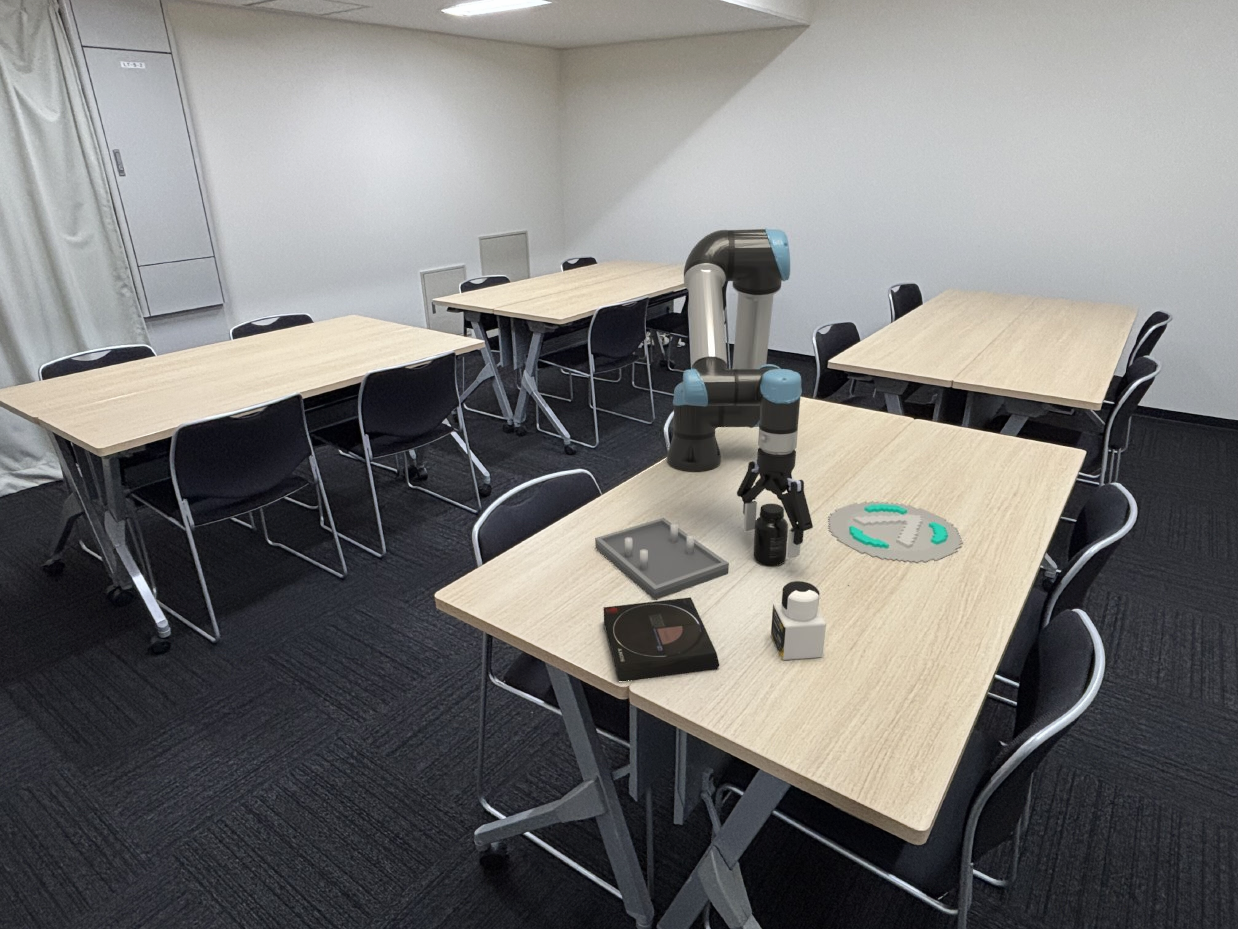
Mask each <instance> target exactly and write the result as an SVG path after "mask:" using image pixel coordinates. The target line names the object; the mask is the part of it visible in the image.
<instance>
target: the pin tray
mask: <svg viewBox="0 0 1238 929" xmlns="http://www.w3.org/2000/svg"><path fill="white" fill-rule="evenodd" d="M594 543H595V545H594V546H595V549H596V550H597V551H598V552H599V553H601V554H602V556H604V557H605V558H606V559H608V561H610V562H611V563H612V564H613V565H614V566H615V567H617V569H619V570H620V571H621V572H622V573H624V574H625V576H627V577H628V578H629V579H630V580H631V581H632V582H633V583H635V584H636V585H637V586H638V587H639V588H640V589H641V590H643V592H645V593H646V594H647V595H649V596H650V597H651V598H652V599H653V601H654V600H655V601H658V600H660V599H662V598H664V597H668V596H670V595H673V594H677V593H679V592H681V591H685V590H687V589H690V588H693V587H695V586H697V585H701V584H704V583H707V582H709V581H713V580H715V579H717V578H720V577H723V576H726V575H728V574H729V568H730V564H729V562H728V561H727V560H725V559H724V558H722V557H721V556H720V555H718V554H716V553H715V552H714V551H713V550H711V549H709V548H708V547H706V546H705V545H703V543H701V542H699V541H698V540H697V539H696V538H695V535H694V534H692V533H691V534H690V533H689V534H688V533H686V532H685V531H684V530H682V529H680V528H679V525H678V523H675V522H673V523H672V522H670V521H669V520H668V519H666V518H664V517H661V518H657V519H654V520H651V521H650V520H649V521H648V522H645V523H641V524H637V525H634V526H631V527H627V528H624V529H621V530H618V531H617V530H616V531H614V532H611V533H607V534H604V535H601V536H598V537H595V538H594Z"/></svg>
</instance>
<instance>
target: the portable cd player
mask: <svg viewBox="0 0 1238 929" xmlns="http://www.w3.org/2000/svg"><path fill="white" fill-rule="evenodd" d="M602 609H603V625H604V629H605V633H606V638H607V641H608V645H609V650H610V653H611V657H612V660H613V661H612V662H613V666H614V669H615V672H616V676H617V677H616V678H617V681H618V682H619V681H626V682H632V681H639V680H640V681H641V680H647V679H648V678H649V679H654V678H663V677H664V678H665V677H670V676H671V677H672V676H678V675H685V674H686V675H687V674H693V673H701V672H708V671H709V672H710V671H714V670H715V671H717V670H718V669H719V667H720V666H721V665H720V661H719V657H718V654H717V650H716V648H715V646H714V644H713V642H712V640H711V638H710V635H709V634H708V632H707V629H706V627H705V625H704V622H703V621H702V618H701V616H700V614H699V612H698V610H697V608H696V605H695V603H694V601H693V599H692V597H691V596H690V597H682V598H681V597H680V598H673V599H672V598H671V599H665V600H655V601H648V602H638V603H630V604H629V603H627V604H621V605H613V606H603V608H602ZM628 680H629V681H628ZM631 680H632V681H631Z"/></svg>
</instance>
